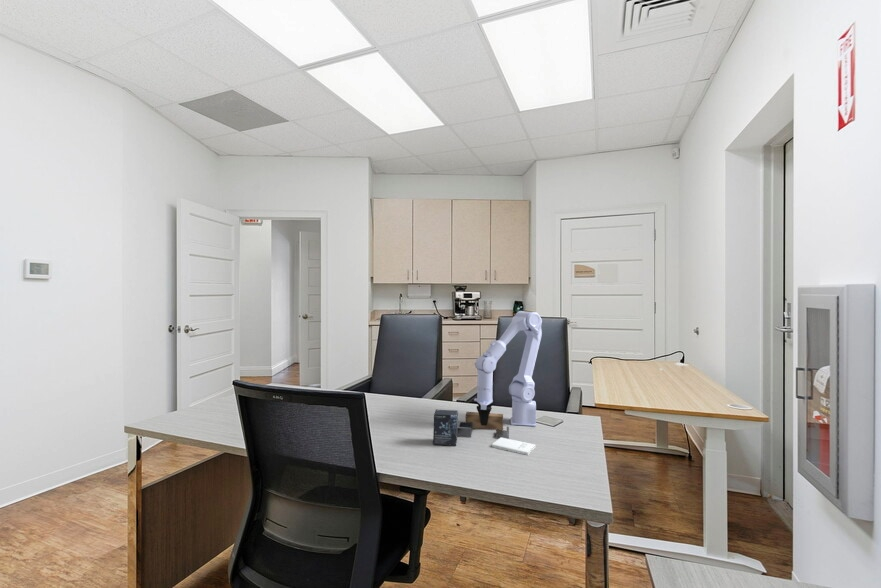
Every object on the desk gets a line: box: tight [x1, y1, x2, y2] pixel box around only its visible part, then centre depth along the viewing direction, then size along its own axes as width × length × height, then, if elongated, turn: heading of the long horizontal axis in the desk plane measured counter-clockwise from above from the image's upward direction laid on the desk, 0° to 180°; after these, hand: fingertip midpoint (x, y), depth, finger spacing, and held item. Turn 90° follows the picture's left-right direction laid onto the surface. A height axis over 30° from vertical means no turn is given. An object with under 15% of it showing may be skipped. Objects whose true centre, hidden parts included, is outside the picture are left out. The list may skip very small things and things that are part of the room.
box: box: [432, 408, 459, 447], centre depth 141 cm, size 8×6×11 cm
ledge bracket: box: [495, 426, 510, 439], centre depth 148 cm, size 4×6×2 cm
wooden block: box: [465, 411, 504, 430], centre depth 157 cm, size 14×4×5 cm, turn 80°
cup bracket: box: [457, 420, 474, 438], centre depth 151 cm, size 6×8×3 cm
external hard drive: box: [491, 437, 537, 456], centre depth 138 cm, size 2×8×12 cm
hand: (484, 423), depth 157 cm, fingers closed on wooden block, 3 cm apart
